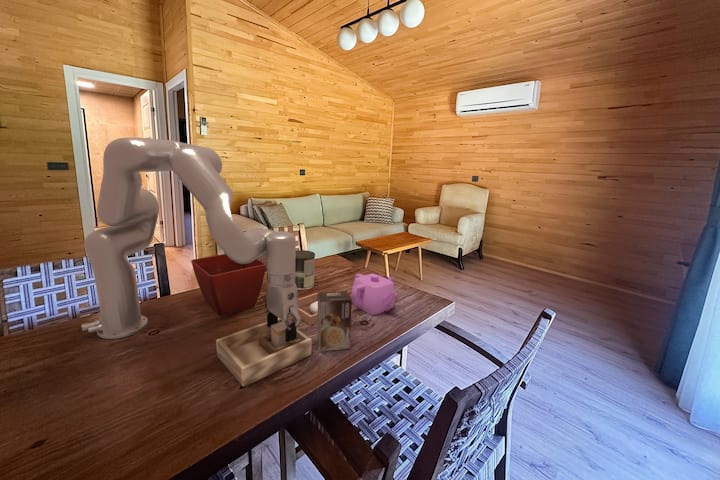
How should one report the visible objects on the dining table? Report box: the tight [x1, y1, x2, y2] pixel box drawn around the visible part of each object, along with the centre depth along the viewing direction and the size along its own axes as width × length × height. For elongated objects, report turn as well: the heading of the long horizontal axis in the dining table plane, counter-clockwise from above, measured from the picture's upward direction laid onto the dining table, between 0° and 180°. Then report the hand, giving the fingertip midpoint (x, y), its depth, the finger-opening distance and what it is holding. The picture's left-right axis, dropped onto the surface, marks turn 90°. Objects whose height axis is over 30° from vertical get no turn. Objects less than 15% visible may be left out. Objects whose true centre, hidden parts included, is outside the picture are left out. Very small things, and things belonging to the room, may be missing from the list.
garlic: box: [309, 301, 318, 315], centre depth 115 cm, size 8×7×4 cm
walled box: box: [215, 318, 313, 388], centre depth 89 cm, size 20×16×5 cm
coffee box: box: [316, 290, 353, 353], centre depth 94 cm, size 9×6×16 cm
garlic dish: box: [298, 292, 319, 326], centre depth 115 cm, size 14×14×3 cm
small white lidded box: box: [271, 321, 291, 348], centre depth 92 cm, size 4×4×6 cm
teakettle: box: [350, 273, 399, 316], centre depth 121 cm, size 17×17×12 cm
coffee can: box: [295, 249, 316, 291], centre depth 135 cm, size 10×10×14 cm
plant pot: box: [191, 253, 267, 317], centre depth 113 cm, size 19×19×17 cm
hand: (281, 332), depth 91 cm, fingers open, 9 cm apart
